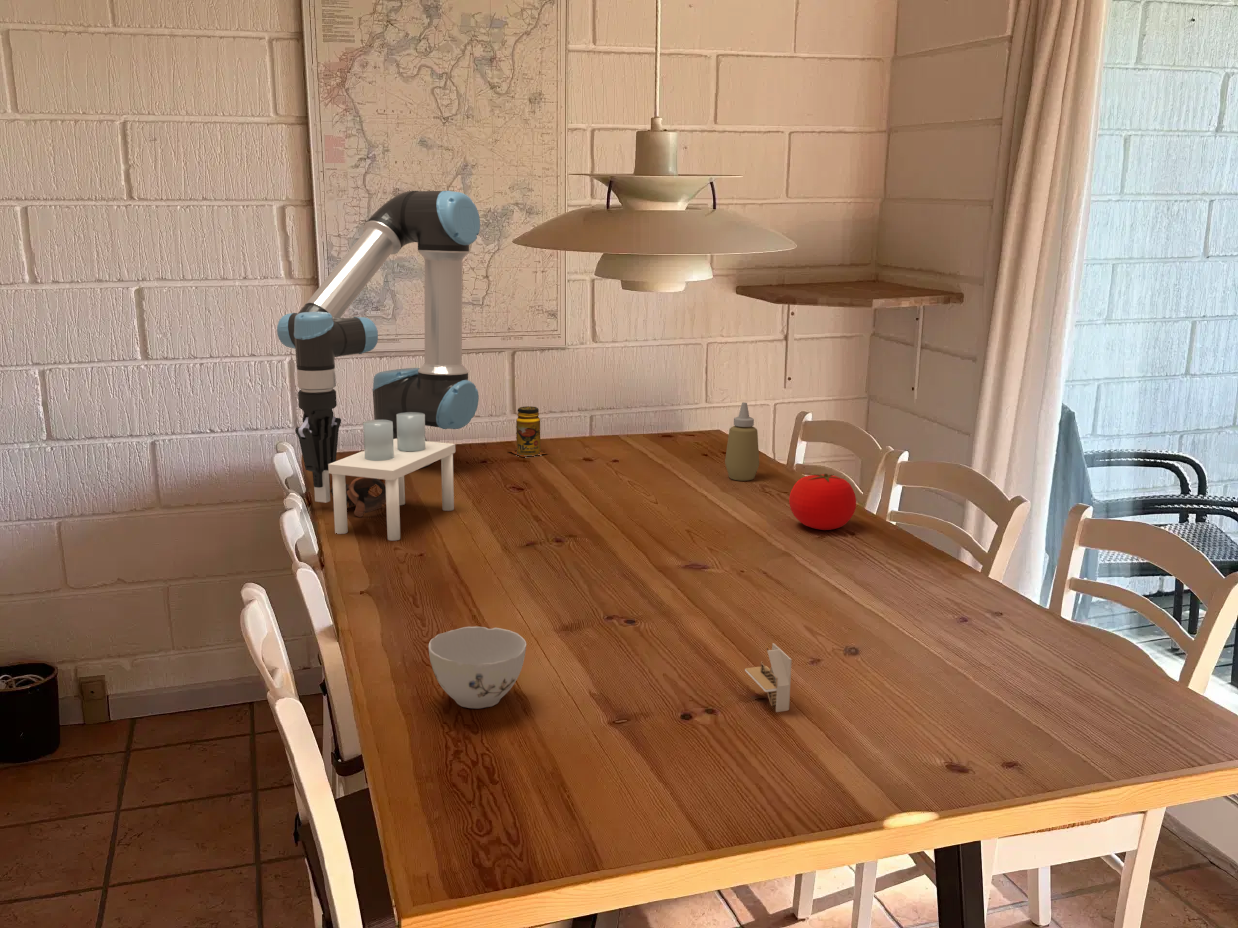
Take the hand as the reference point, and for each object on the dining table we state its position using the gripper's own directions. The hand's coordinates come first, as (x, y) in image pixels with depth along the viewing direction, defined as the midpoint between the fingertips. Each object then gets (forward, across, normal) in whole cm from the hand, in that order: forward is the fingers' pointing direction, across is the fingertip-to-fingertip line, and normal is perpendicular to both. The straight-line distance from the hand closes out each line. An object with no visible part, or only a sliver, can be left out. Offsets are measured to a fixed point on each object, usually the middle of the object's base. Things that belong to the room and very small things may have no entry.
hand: (322, 501), depth 231 cm
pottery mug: (+2, -2, +8) cm, 8 cm away
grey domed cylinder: (-12, -3, +20) cm, 23 cm away
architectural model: (+2, +56, +107) cm, 121 cm away
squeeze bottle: (+2, -59, +75) cm, 95 cm away
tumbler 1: (-12, +6, +18) cm, 22 cm away
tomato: (+2, -26, +99) cm, 103 cm away
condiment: (+2, -63, +18) cm, 66 cm away
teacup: (+2, +68, +70) cm, 98 cm away
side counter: (+2, +2, +19) cm, 19 cm away
